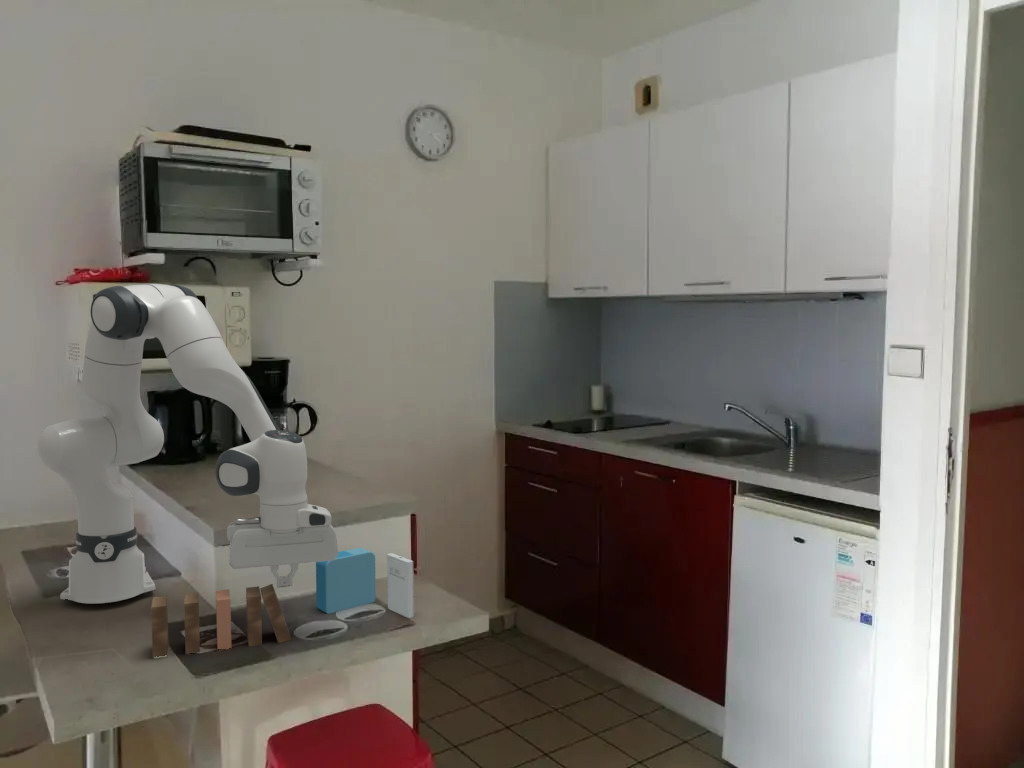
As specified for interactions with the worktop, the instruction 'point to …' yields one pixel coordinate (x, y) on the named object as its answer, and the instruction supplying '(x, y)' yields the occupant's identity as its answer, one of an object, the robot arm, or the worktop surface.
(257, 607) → the domino
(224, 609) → the domino
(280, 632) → the domino
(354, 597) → the blue rounded box
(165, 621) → the domino
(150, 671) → the worktop surface
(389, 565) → the hard drive
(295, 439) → the robot arm
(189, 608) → the domino
